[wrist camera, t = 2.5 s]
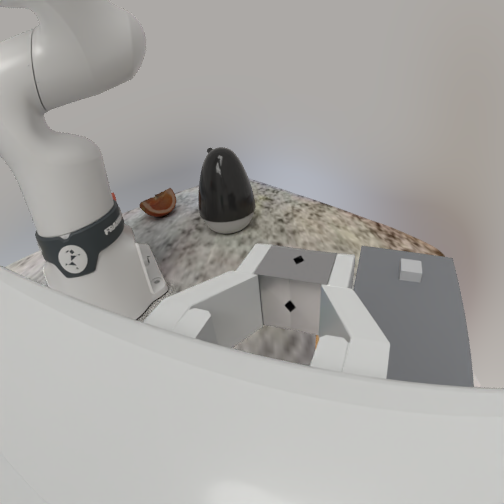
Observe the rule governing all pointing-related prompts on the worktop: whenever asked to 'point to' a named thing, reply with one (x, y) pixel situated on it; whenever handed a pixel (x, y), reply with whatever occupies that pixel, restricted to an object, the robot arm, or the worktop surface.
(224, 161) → the black glossy egg shape
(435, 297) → the gray box with nub
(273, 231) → the worktop surface
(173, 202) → the fruit slice
